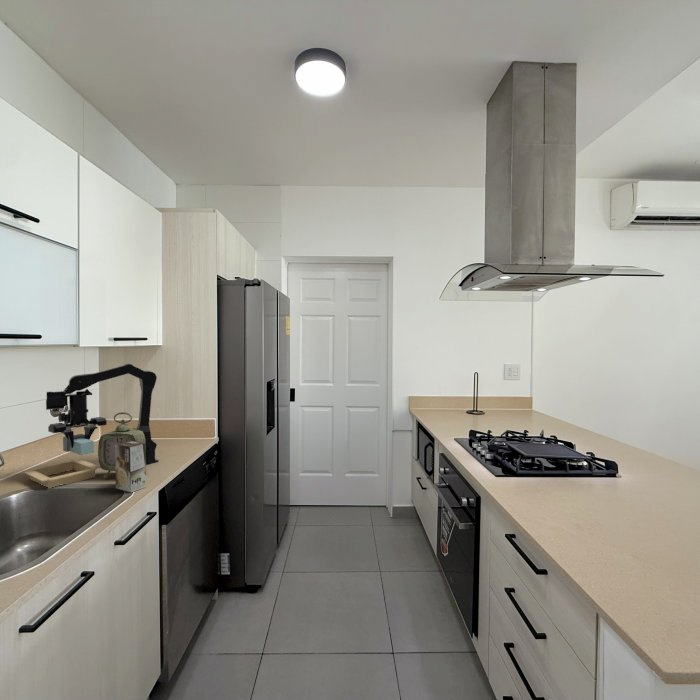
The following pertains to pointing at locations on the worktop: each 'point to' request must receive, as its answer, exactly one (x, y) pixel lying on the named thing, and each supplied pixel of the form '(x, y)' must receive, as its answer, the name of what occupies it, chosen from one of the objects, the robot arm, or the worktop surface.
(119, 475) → the coffee box
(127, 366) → the robot arm
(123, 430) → the tabletop clock
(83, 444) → the box
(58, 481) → the tan shallow rectangular tray
